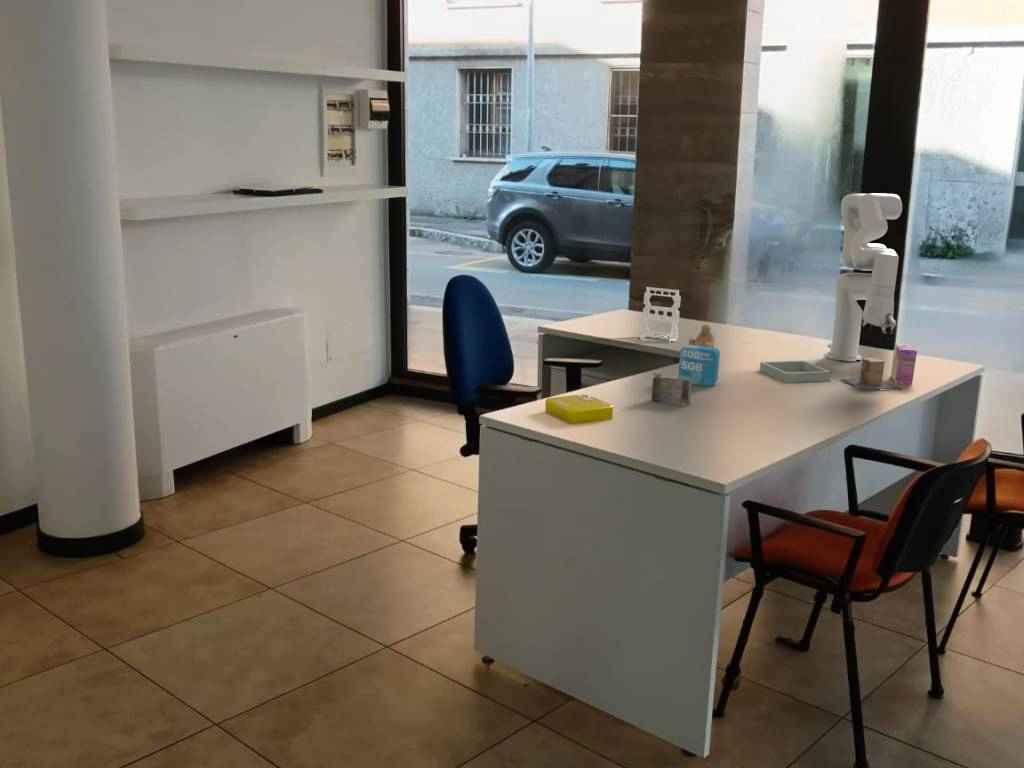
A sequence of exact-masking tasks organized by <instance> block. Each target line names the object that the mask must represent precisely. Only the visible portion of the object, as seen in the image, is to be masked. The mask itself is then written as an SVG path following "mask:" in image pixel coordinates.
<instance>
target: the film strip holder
mask: <svg viewBox="0 0 1024 768" xmlns="http://www.w3.org/2000/svg"><path fill="white" fill-rule="evenodd" d="M651 291H654V293H651ZM657 292H660V294H659V293H657ZM664 292H666V293H668V294H664ZM671 293H674V295H671ZM643 294H644V295H643V305H644V306H645V307H643V309H642V320H643V322H642V323H641V324H642V326H641V333H640V336H641V337H643V336H644V335H647V334H648V333H650V334H652V336H653V334H658V336H655V337H660V334H661V335H663V336H664V337H662V338H667V335H668V336H670V338H668V339H669V340H668V341H669V342H671V341H675V340H677V341H678V339H676V338H678V337H679V336H678V335H679V326H677V324H679V321H680V311H679V310H678V309H679V308H680V307H681V299H682V298H681V296H682V295H680V290H679V289H671V288H659V287H652V286H651V287H650V286H646V291H645V292H644V293H643ZM652 296H659V297H660V296H661V297H669V298H672V300H673V304H672V306H671V307H667V306H659V305H657V306H656V305H652V304H651V302H650V299H651V297H652ZM652 310H653V311H654V316H652V315H651V314H650V311H652ZM659 312H663V316H662V317H661V316H659ZM668 312H670V313H671V317H668V316H667V314H668ZM650 321H654V322H664V323H670V325H671V328H670V332H662V331H655V330H653V331H652V330H650V329H649V326H648V325H649V323H650ZM649 336H650V335H649ZM671 337H672V338H671Z"/></svg>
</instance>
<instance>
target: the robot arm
mask: <svg viewBox="0 0 1024 768" xmlns="http://www.w3.org/2000/svg"><path fill="white" fill-rule="evenodd" d="M902 211H903V203H902V199H901V197H900V196H899V195H897V194H894V193H875V192H873V193H849V194H847V195H845V196H843V198H842V199H841V204H840V216H841V221H842V224H843V225H842V226H843V243H842V244H843V245H842V252H841V253H842V254H841V256H842V257H841V258H842V259H841V261H842V265H843V267H845V268H847V269H852V270H859V271H867V272H868V271H871V272H872V273H863V272H844V273H841V274H840V275H838V277H837V278H836V280H835V311H834V320H833V321H834V322H833V329H832V338H831V343H830V344H827V348H828V349H829V351H827V352H826V353H825V356H826V357H827V358H828V359H830V360H835V361H839V360H844V361H843V362H857V361H856V360H860V361H862V357H863V356H862V355H861V354H859V345H860V338H862V339H872V336H873V335H872V334H873V326H875V327H880V328H881V331H882V332H881V334H880V341H879V346H890V342H891V334H893V332H894V330H895V327H896V326H897V321H896V320H895V319H894V312H895V311H894V310H895V296H894V295H895V290H896V282H897V276H898V275H897V274H898V267H899V257H900V256H899V255H898V254H897V252H896V251H895V250H894V249H892V248H887V246H886V245H884V244H882V243H872V241H875V240H878V239H880V238H881V237H883V236H885V234H886V233H887V231H888V229H889V228H888V226H889V225H888V221H887V220H897V219H898V218H900V216H901V215H902ZM870 242H871V243H870ZM860 300H863V301H864V300H865V304H864V308H863V310H862V307H861V306H860V305H859V303H858V302H857V301H860ZM861 326H863V328H862V327H861ZM861 328H862V329H861ZM861 330H862V336H861ZM860 336H861V337H860Z"/></svg>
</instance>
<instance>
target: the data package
mask: <svg viewBox="0 0 1024 768" xmlns="http://www.w3.org/2000/svg"><path fill="white" fill-rule="evenodd" d="M720 355H721V352H720V350H719V349H718V348H716V347H714V348H711V347H703V346H695V345H688V344H685V345H684V346H683V347H681V349H680V350H679V362H678V364H679V365H678V374H677V375H678V377H677V379H680V380H688V381H692V385H696V386H704V387H708V388H709V387H712V386H714V385H715V384H716V383H717V382H718V381H719V380H718V379H719V378H718V377H719V368H720V357H721V356H720Z"/></svg>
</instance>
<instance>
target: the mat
mask: <svg viewBox="0 0 1024 768" xmlns="http://www.w3.org/2000/svg"><path fill="white" fill-rule="evenodd" d="M839 380H841V382H842V381H844V382H843V383H845V382H846V383H845V384H847V383H849V384H848V385H850V384H852V385H854V386H857V387H859V388H861V389H860V390H862V389H864V390H876V391H881V390H880V389H898V390H903V388H902V387H901V386H898V385H897V384H896V385H895V384H894V383H892V382H888V381H886V380H883V379H882V385H866V384H864V383H861V382H860V377H859V378H840V379H839ZM852 385H851V386H852ZM854 386H853V387H854ZM857 387H856V388H857ZM859 388H858V389H859ZM864 390H863V391H864Z"/></svg>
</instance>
